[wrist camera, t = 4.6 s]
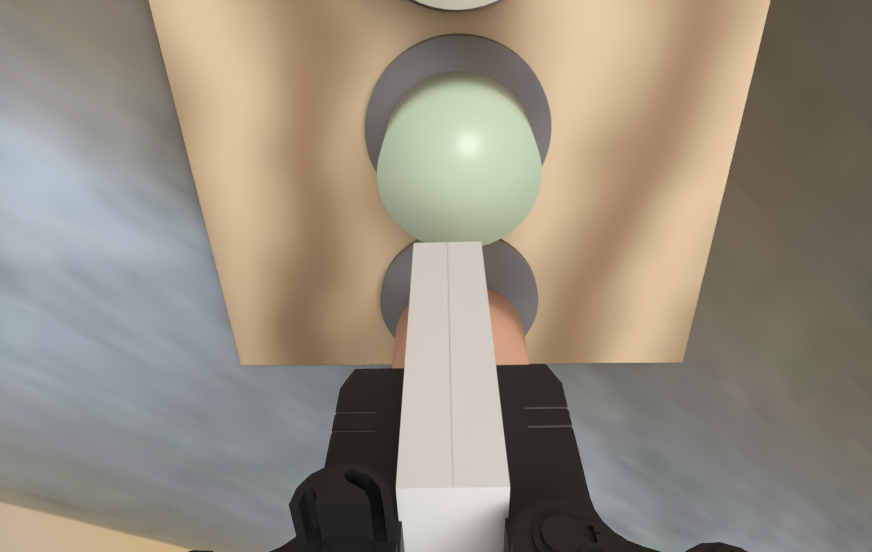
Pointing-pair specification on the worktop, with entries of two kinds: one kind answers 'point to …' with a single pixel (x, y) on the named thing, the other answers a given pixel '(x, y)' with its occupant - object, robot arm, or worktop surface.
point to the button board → (553, 131)
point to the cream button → (456, 3)
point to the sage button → (459, 160)
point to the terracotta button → (504, 334)
